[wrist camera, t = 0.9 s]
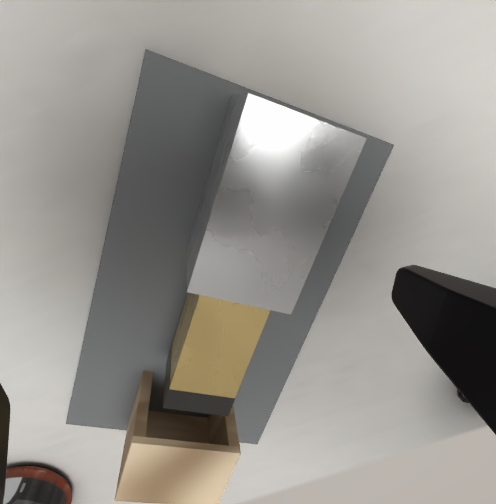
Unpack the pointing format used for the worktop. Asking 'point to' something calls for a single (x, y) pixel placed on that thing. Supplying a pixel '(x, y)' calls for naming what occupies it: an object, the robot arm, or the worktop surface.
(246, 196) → the steel sleeve
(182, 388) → the tube
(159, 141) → the slate mat
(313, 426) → the worktop surface
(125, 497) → the maple socket
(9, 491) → the supplement bottle
